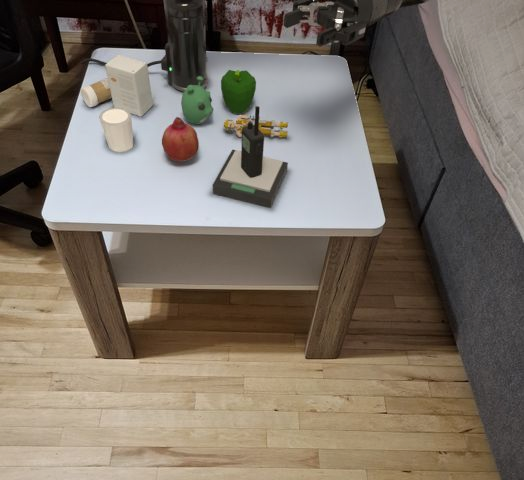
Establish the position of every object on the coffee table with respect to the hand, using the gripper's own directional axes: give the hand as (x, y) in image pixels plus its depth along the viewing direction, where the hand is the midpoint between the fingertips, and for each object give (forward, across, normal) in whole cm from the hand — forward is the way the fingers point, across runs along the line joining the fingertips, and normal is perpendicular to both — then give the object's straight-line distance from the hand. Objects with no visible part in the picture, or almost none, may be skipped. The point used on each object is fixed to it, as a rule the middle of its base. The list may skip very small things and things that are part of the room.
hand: (301, 30), depth 92 cm
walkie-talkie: (+11, 0, +25) cm, 27 cm away
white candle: (+25, -29, +28) cm, 48 cm away
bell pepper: (-6, -23, +28) cm, 37 cm away
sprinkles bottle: (+10, -46, +26) cm, 54 cm away
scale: (+11, 0, +28) cm, 30 cm away
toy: (-1, -12, +28) cm, 31 cm away
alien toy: (+6, -24, +28) cm, 38 cm away
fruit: (+18, -16, +28) cm, 37 cm away
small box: (+14, -39, +28) cm, 50 cm away
